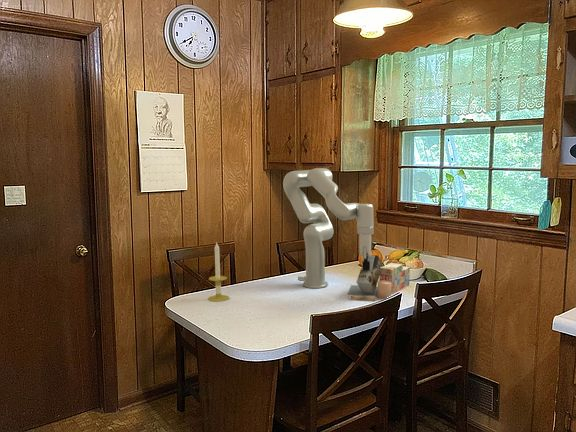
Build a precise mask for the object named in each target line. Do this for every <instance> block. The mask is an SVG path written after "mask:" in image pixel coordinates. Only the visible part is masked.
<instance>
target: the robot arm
mask: <svg viewBox="0 0 576 432" xmlns="http://www.w3.org/2000/svg"><path fill="white" fill-rule="evenodd" d="M282 185H283V190H284V193H285V195H286V197H287V199H288V201H290V203H291V204H290V205H291V206H292V208H293V211H294V213H295V214H296V217H297V219H298V220H299V222H300V223H302V224H308V225H307V226H306V227H305V228H304V230H303V234H302V235H303V240H304V247H305V275H304V276H297V281H299V282H303V283H302V286H303V287H305V288H309V289H324V288H327V287H328V285H329V283H328V281H326V279H325V278H326V274H325V273H326V271H325V266H326V263H325V260H326V259H325V256H326V255H325V246H324V245H323V242H325V241H328V240H331V238H332V237H334V236H333V235H334V227H333V224H332V222H331V220H330V218H329V216H328V213H327V212H326V210H325V208H324V207H323V206H322V205H321V204H319V203H311V202H310V201H309V199H308V196H307V195H306V193H304V192H303V191H302V190H301V188H305V187H306V188H307V187H313V188H314V189H315V190H316V191H317V192H318V193H319V194H320V195H321V196H322V197H323V198H324V199H325V200H324V201H325V203H326V206H327V209H329V211H330V212H331V213H332V214H333V215H334V216H335V217H336V218H338V219H339V220H340V221H348V220H353V219H356V225H357V226H356V229H357V231H356V234H357V235H359V236H358V237H359V238H358V242H359V243H358V255H359V257H361V256H362V265H363V270H370V261H369V255H372V254H371V253H372V235H374V233H375V225H374V224H375V223H374V222H375V221H374V217H375V216H374V206H373V204H371V203H358V202H348V203H344V202H343V201H342V200H341V199H340V198H339V197H338V196H337V192H338V191H339V186H338V185H337V184H336V183H335V182H334V181H333V173H332V171H331V170H330V169H329V168H326V167H318V168H317V167H315V168H312V169H304V170H302V169H301V170H293V171H289V172H287V174H285V176H284V177H283V182H282ZM310 223H311V224H310Z"/></svg>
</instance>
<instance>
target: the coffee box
mask: <svg viewBox="0 0 576 432" xmlns="http://www.w3.org/2000/svg"><path fill="white" fill-rule="evenodd" d="M369 261H370V270H363V264H362V265H361V268H360V271H359V274H358V276H357V278H356V279H357V280H356V285H357V286H359V288H360V290H361V292H362V293H370V294H374V292H375V289H376V286H378V281H379V280H380V267H383V266H384V265H383V264H382V262H381V259H380V257H379V255H378V254H377V255H376V254H370V255H369Z"/></svg>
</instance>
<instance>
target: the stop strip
mask: <svg viewBox="0 0 576 432" xmlns="http://www.w3.org/2000/svg"><path fill="white" fill-rule="evenodd" d="M350 301H364V302H365V301H369V302H376V296H368V295H350Z"/></svg>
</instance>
